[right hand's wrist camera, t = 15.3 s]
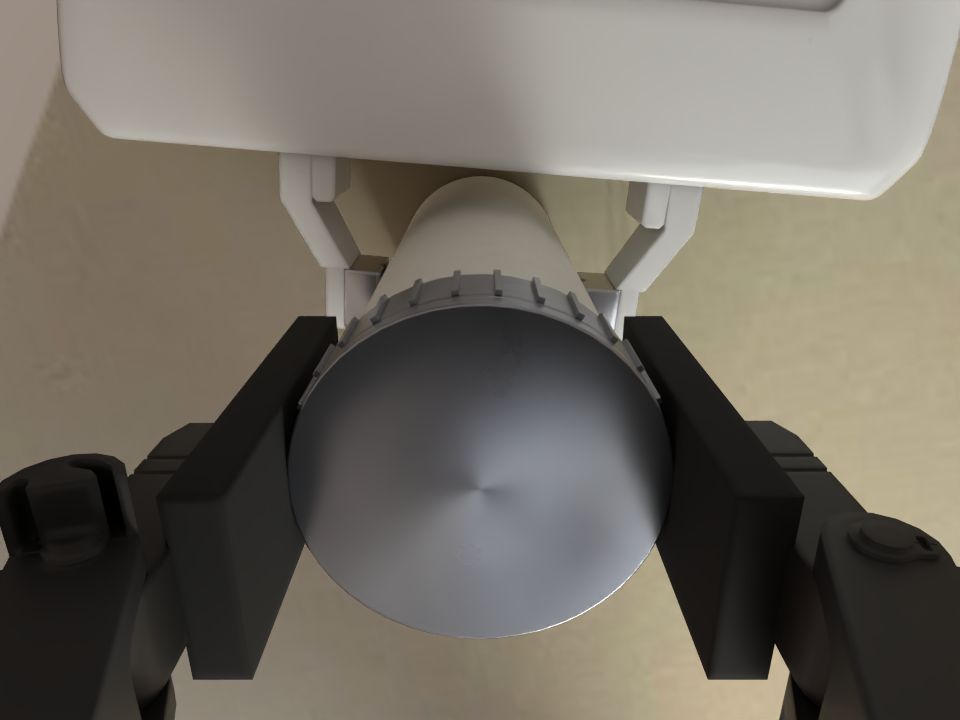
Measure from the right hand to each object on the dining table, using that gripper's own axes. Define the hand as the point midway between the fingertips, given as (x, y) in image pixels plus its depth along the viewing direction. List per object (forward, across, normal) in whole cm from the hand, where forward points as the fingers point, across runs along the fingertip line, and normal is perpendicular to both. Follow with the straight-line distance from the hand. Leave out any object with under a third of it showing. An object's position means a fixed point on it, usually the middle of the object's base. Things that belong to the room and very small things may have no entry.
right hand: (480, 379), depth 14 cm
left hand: (+5, 0, -1) cm, 5 cm away
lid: (-4, 0, 0) cm, 4 cm away
